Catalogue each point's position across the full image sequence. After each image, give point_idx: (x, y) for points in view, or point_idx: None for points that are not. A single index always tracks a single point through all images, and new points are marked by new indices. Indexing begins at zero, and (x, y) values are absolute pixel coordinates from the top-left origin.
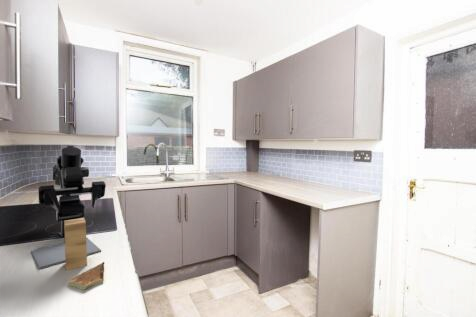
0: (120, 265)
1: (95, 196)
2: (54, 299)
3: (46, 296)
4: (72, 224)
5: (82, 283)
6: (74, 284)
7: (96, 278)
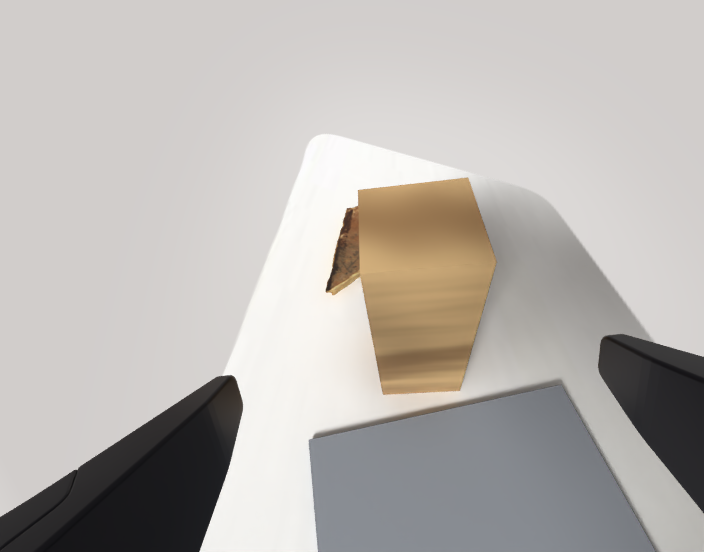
0: (287, 274)
1: (64, 483)
2: None
3: None
4: (428, 184)
5: None
6: None
7: None
